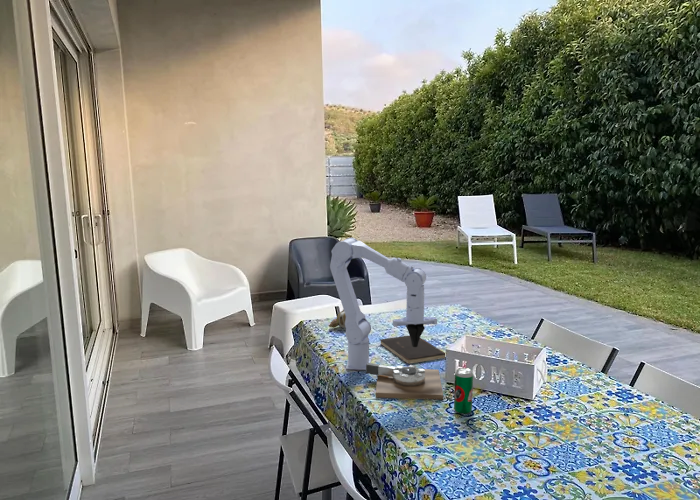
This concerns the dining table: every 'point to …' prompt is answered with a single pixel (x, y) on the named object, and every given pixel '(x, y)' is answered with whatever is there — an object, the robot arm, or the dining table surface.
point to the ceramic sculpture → (339, 320)
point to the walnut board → (411, 387)
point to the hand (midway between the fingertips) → (414, 346)
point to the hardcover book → (412, 349)
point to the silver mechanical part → (399, 373)
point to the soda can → (463, 391)
